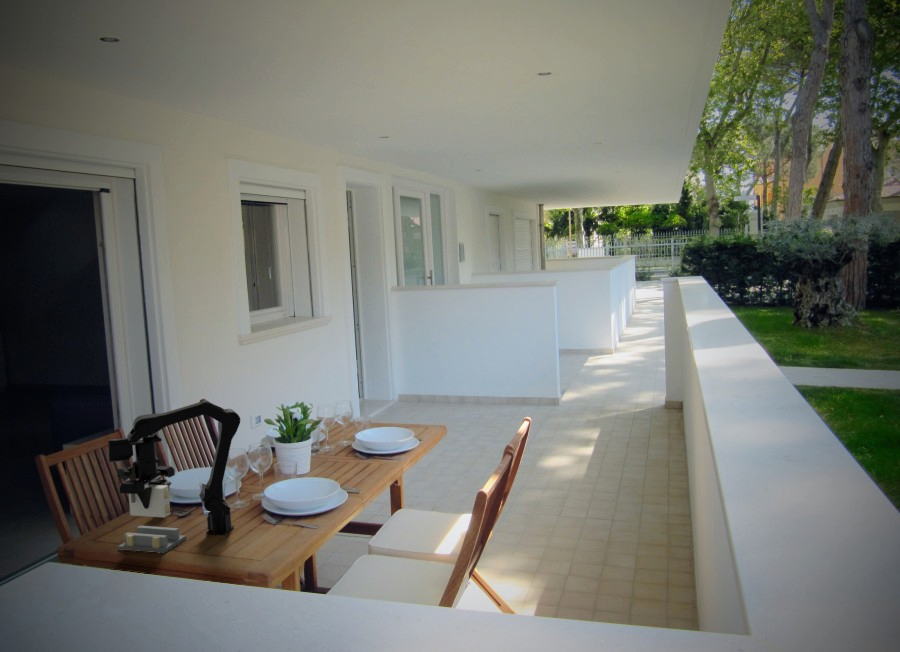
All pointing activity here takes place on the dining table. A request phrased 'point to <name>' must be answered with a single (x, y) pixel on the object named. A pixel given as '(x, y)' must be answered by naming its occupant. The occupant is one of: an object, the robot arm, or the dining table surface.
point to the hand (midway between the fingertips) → (150, 506)
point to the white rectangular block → (152, 503)
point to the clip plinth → (152, 539)
